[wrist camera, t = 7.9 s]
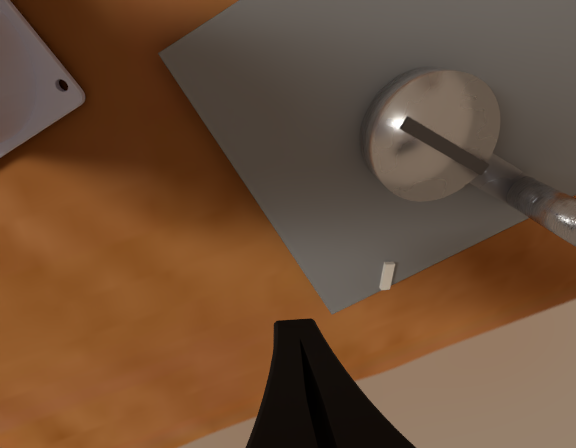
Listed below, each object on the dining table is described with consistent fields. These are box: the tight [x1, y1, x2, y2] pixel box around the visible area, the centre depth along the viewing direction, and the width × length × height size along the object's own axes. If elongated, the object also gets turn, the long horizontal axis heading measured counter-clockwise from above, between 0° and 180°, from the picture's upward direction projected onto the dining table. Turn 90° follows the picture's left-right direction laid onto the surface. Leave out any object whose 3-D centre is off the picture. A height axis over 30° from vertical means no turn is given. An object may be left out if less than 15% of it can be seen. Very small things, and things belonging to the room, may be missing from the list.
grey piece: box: [360, 67, 576, 246], centre depth 16 cm, size 11×6×5 cm, turn 62°
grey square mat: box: [158, 0, 576, 314], centre depth 18 cm, size 18×18×1 cm
